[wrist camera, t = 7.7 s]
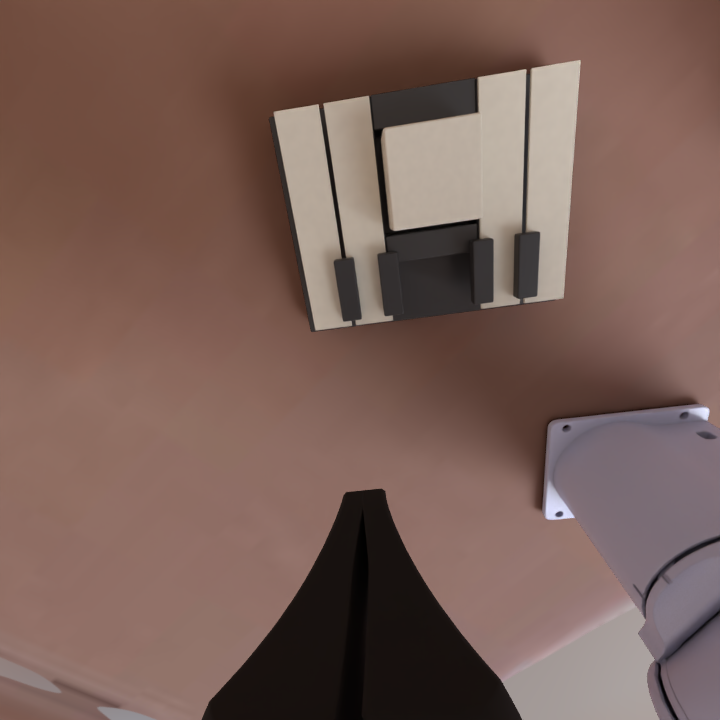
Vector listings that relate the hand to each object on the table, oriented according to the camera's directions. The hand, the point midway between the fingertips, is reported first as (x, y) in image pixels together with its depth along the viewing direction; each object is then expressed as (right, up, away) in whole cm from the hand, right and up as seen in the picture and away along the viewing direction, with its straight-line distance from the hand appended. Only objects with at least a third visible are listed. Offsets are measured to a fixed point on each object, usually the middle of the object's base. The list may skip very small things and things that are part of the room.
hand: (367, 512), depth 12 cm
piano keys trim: (+3, +12, +3) cm, 12 cm away
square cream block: (+3, +13, +3) cm, 14 cm away
